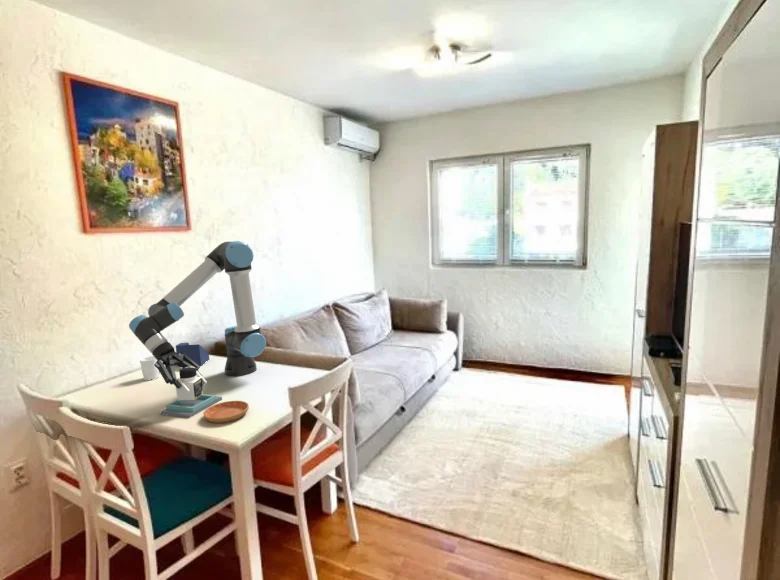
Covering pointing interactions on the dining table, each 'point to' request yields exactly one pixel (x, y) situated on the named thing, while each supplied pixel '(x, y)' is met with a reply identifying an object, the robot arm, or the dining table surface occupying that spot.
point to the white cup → (149, 368)
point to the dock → (190, 406)
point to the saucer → (226, 411)
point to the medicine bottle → (190, 384)
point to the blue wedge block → (193, 352)
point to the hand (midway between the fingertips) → (196, 388)
